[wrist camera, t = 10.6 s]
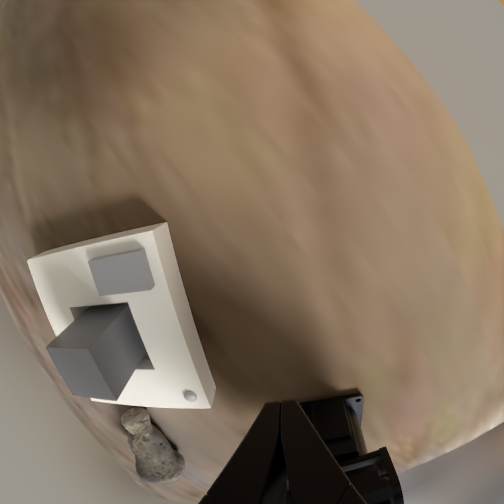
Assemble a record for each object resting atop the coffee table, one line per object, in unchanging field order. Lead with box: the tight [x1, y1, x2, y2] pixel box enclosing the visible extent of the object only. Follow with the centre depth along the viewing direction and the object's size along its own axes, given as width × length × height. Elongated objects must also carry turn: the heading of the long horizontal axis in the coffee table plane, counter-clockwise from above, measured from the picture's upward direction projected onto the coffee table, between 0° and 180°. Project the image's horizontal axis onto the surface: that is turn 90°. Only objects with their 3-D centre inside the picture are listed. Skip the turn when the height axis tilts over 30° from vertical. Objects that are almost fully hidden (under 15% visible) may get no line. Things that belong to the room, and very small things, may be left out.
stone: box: [121, 407, 185, 483], centre depth 23 cm, size 10×5×8 cm
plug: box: [46, 302, 147, 401], centre depth 17 cm, size 4×4×7 cm
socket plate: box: [27, 222, 216, 408], centre depth 19 cm, size 14×12×3 cm
